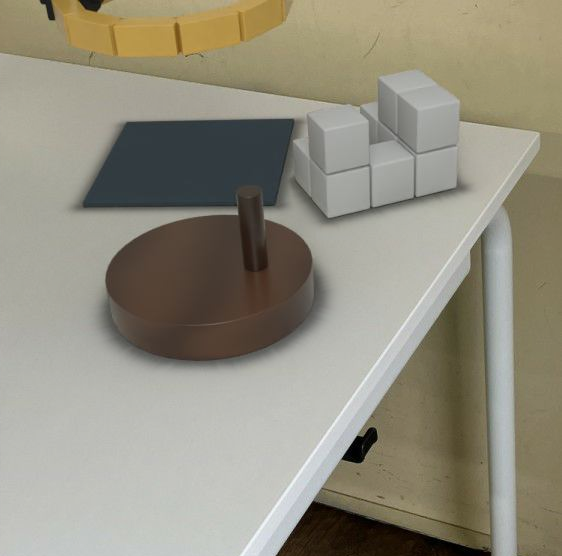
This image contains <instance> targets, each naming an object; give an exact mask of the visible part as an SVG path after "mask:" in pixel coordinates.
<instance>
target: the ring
mask: <svg viewBox="0 0 562 556" xmlns="http://www.w3.org/2000/svg"><path fill="white" fill-rule="evenodd" d="M51 1H52V6H53V11H54V16H55V20H54V21H55V25H56V29H57V30H58V32H59V33H60V34H61V36H62V37H63V38H64V40H65V41H66V43H67V44H68V46H71V47H72V48H76V49H80V50H84V51H87V52H91V53H96V54H100V55H105V56H108V57H112V58H113V57H118V58H167V57H169V58H170V57H177V58H178V57H179V55H180V54H181V55H182V56H184V57H185V56H190V55H196V54H199V53H204V52H208V51H213V50H219V49H223V48H229V47H233V46H238V45H242V42H243V43H247V42H249V41H251V40H254V39H255V38H257V37H259V36H261V35H263V34H265V33H267V32H269V31H271V30H274V29H275V28H278V27H279V26H281V25H283V23H285V22H286V21H287V18H288V16H289V13H290V11H291V8H292V5H293V2H294V1H293V0H239V1H236V2H235V3H233V4H230V5H228V6H224V7H219V8H213V9H209V10H203V11H198V12H193V13H188V14H183V15H178V16H151V17H150V16H149V17H147V16H146V17H145V16H143V17H121V16H116V15H112V14H107V13H102V12H99V11H97V12H93V11H89V10H86V9H85V8H84V7H83V6H82V4H81V3H80V2H79V1H78V0H51ZM112 1H113V0H104V2H103V3H101V6H102V5H105V4H108V3H110V2H112Z"/></svg>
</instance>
